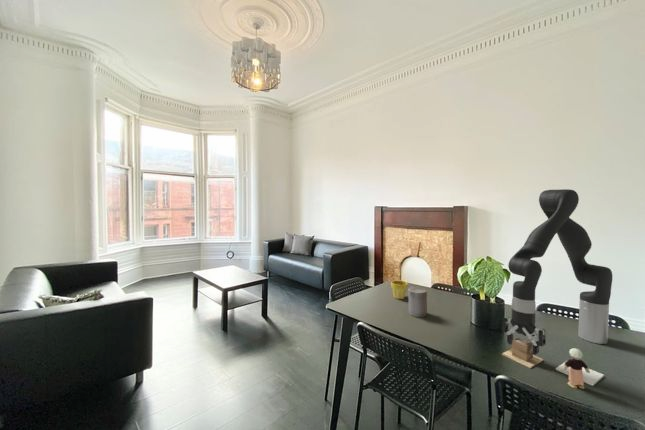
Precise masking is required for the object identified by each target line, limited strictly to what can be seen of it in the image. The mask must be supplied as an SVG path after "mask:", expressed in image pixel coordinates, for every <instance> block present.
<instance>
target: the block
mask: <svg viewBox="0 0 645 430" xmlns="http://www.w3.org/2000/svg"><path fill="white" fill-rule="evenodd" d="M533 345H534V344H533V343H532V341H530V340H527V339H524V338H522V337H517V338H515V339H513V341H512V344H511V346H512V347H511V349H512V355H513V356H515V357H517V358H519V359H522V360H524V361H526V362H527V361H528V360H530V359H532V358H533V355H534V354H533Z"/></svg>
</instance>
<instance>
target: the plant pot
mask: <svg viewBox="0 0 645 430" xmlns="http://www.w3.org/2000/svg"><path fill="white" fill-rule="evenodd" d="M390 287H391V290H392V293H393V298H394V299H397V300H403V299H405V296H406V292H407V290H408V288H409V287H408V282H407V281H406V280H405V281H404V280H398V279H397V280H395V279H394V280H392V281H390Z"/></svg>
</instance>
